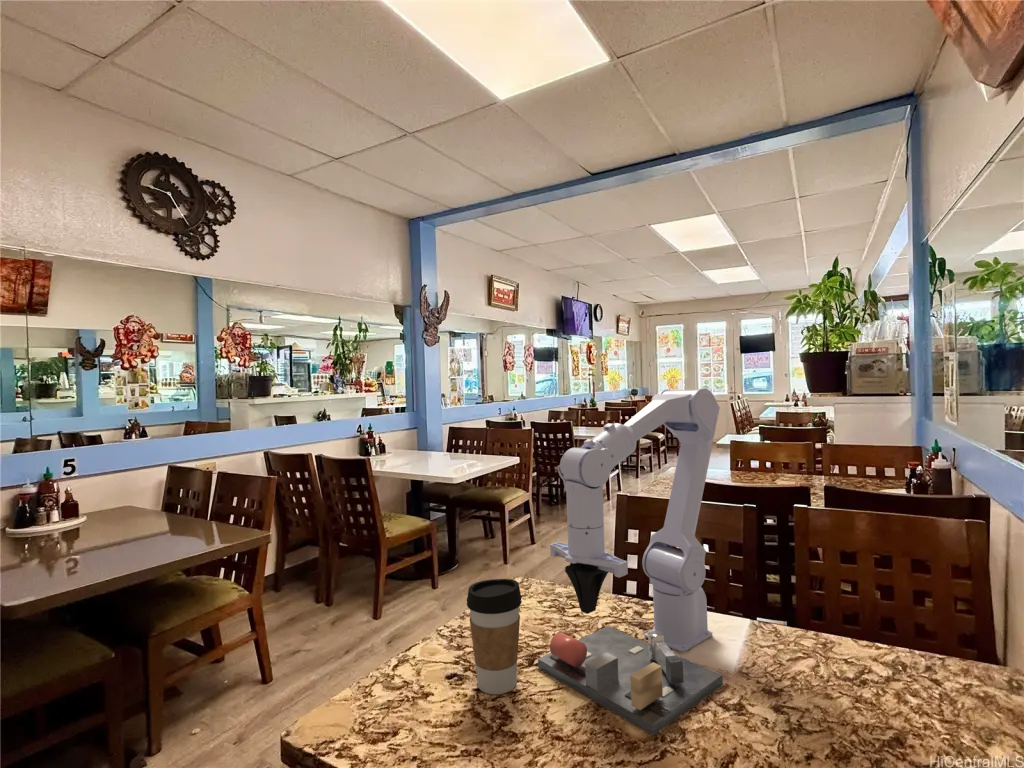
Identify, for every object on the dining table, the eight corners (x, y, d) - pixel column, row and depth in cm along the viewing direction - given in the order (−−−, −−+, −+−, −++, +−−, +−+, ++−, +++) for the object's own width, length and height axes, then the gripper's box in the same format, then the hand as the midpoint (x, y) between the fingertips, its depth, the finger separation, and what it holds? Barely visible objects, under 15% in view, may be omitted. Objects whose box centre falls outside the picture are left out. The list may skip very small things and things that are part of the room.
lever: (646, 653, 83) (645, 631, 83) (661, 652, 84) (660, 630, 84) (669, 684, 74) (668, 660, 74) (685, 683, 75) (684, 658, 75)
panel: (608, 634, 95) (607, 608, 95) (724, 685, 77) (722, 653, 77) (538, 668, 84) (537, 638, 84) (654, 736, 67) (652, 699, 67)
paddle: (654, 691, 73) (653, 662, 73) (662, 695, 72) (661, 666, 72) (631, 705, 70) (630, 675, 70) (640, 710, 69) (638, 679, 69)
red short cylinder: (566, 651, 85) (565, 629, 85) (587, 662, 81) (586, 639, 81) (550, 659, 83) (549, 636, 83) (571, 670, 79) (570, 646, 79)
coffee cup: (519, 702, 75) (515, 597, 75) (462, 697, 77) (459, 594, 77) (529, 670, 83) (525, 576, 83) (477, 667, 85) (474, 574, 85)
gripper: (535, 521, 86) (538, 604, 85) (604, 538, 75) (607, 634, 74) (565, 513, 90) (568, 592, 90) (635, 529, 79) (638, 619, 79)
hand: (588, 610), depth 82 cm, fingers closed
